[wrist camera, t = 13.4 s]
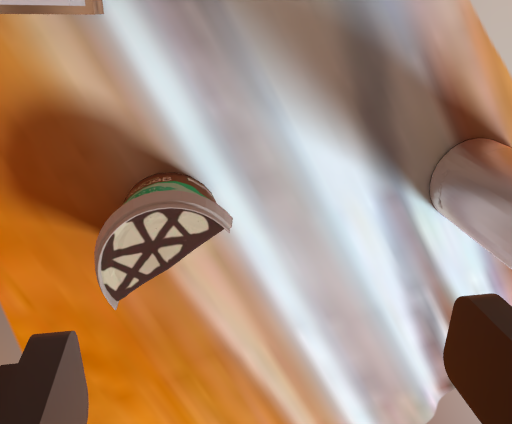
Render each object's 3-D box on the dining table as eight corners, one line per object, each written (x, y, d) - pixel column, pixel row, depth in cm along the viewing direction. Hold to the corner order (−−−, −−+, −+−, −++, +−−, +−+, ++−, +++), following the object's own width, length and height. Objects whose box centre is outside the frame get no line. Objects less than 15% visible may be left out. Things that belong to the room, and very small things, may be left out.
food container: (185, 133, 42) (187, 168, 33) (223, 184, 44) (235, 228, 35) (80, 208, 43) (54, 261, 34) (123, 253, 46) (110, 313, 37)
